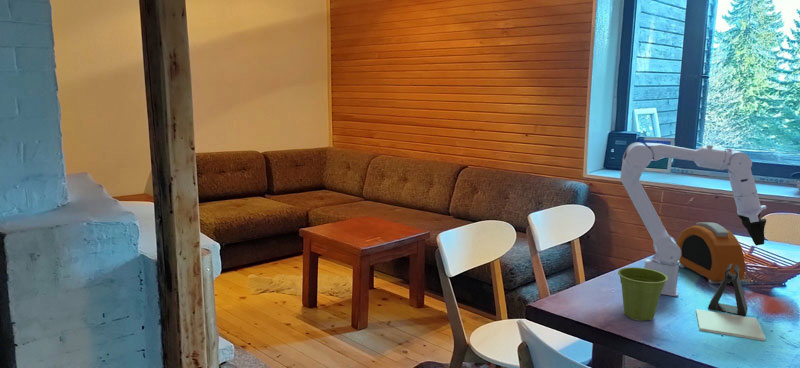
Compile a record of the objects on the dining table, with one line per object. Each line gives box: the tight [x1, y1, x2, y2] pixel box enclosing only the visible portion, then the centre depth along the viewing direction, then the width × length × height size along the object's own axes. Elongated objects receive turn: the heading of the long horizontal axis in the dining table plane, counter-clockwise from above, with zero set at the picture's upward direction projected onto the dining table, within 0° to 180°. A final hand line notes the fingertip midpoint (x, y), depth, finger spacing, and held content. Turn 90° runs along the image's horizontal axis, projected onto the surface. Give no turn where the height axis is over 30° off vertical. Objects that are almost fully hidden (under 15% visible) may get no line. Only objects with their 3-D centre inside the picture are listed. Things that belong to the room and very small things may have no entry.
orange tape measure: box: [676, 221, 746, 284], centre depth 190 cm, size 23×9×17 cm, turn 6°
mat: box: [695, 308, 766, 342], centre depth 151 cm, size 14×14×1 cm
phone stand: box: [707, 264, 749, 317], centre depth 161 cm, size 9×6×12 cm, turn 56°
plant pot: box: [617, 266, 668, 322], centre depth 154 cm, size 12×12×11 cm
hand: (757, 240), depth 166 cm, fingers open, 7 cm apart
